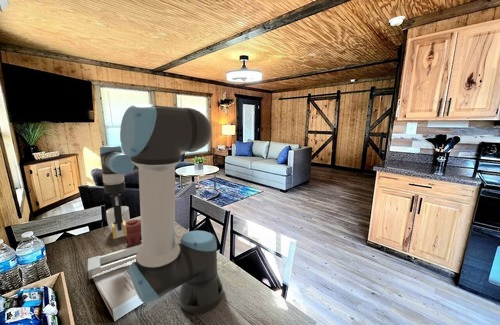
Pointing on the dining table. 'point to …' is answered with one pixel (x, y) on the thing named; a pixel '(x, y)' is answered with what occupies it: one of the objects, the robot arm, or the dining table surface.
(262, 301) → the dining table surface
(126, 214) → the mug
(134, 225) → the mechanical component
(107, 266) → the white slotted console
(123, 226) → the block
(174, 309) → the dining table surface
